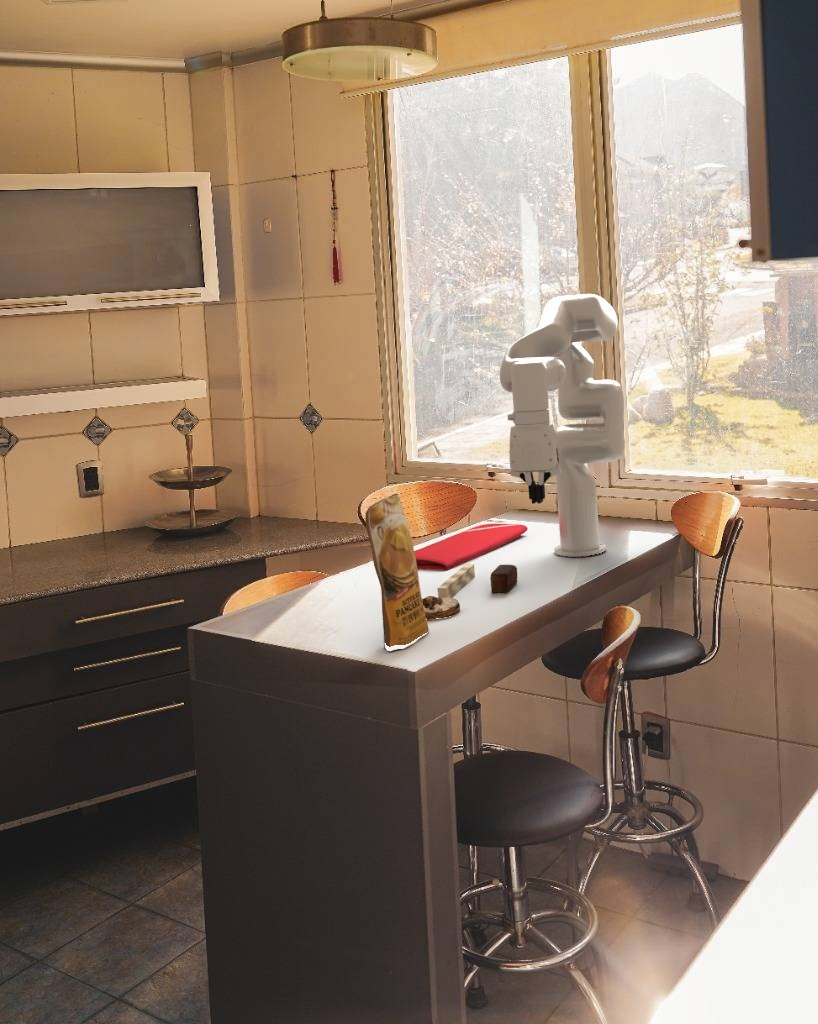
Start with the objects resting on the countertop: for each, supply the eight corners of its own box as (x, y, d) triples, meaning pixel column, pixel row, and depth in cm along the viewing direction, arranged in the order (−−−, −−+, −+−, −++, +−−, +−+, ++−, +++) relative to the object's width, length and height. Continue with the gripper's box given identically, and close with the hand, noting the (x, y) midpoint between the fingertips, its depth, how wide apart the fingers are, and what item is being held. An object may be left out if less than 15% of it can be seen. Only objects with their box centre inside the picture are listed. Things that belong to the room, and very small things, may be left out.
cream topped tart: (406, 605, 261) (404, 587, 261) (473, 605, 257) (471, 586, 256) (386, 624, 247) (384, 605, 247) (456, 624, 243) (455, 604, 243)
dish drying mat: (394, 569, 298) (393, 554, 298) (479, 535, 331) (478, 521, 331) (447, 572, 290) (446, 557, 289) (530, 537, 322) (529, 523, 322)
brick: (508, 594, 262) (507, 573, 262) (491, 594, 264) (489, 573, 263) (518, 582, 272) (517, 562, 272) (501, 582, 274) (500, 562, 273)
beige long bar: (466, 576, 281) (465, 564, 281) (475, 576, 281) (474, 564, 280) (438, 601, 261) (437, 588, 260) (447, 601, 260) (446, 588, 260)
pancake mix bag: (365, 654, 226) (351, 508, 221) (408, 626, 243) (396, 489, 238) (398, 656, 223) (384, 507, 219) (438, 627, 240) (427, 489, 235)
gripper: (493, 422, 258) (499, 506, 261) (562, 418, 253) (568, 504, 256) (502, 418, 265) (508, 500, 268) (569, 414, 260) (575, 498, 263)
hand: (537, 502), depth 262 cm, fingers closed
